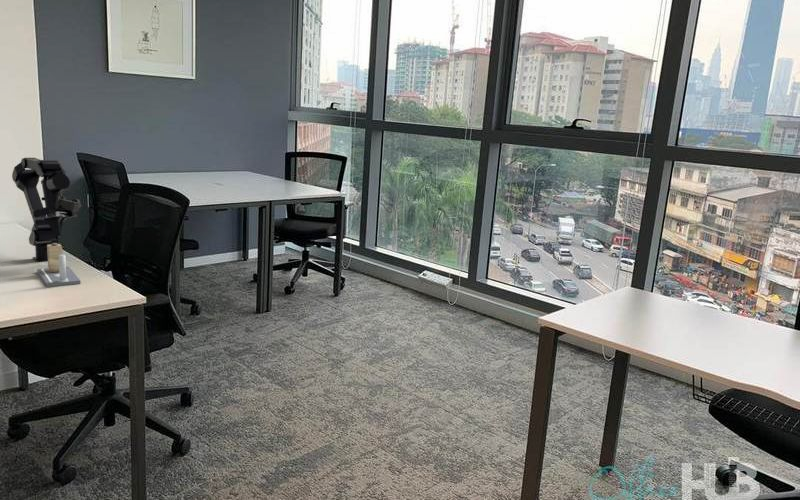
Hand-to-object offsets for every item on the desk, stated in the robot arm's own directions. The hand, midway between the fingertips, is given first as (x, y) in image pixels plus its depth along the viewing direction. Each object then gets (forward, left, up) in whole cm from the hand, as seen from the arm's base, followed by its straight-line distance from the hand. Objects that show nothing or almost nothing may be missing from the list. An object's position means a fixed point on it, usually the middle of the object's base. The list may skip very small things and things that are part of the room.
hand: (59, 236), depth 221 cm
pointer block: (+7, -4, -10) cm, 13 cm away
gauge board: (+12, -5, -12) cm, 18 cm away
